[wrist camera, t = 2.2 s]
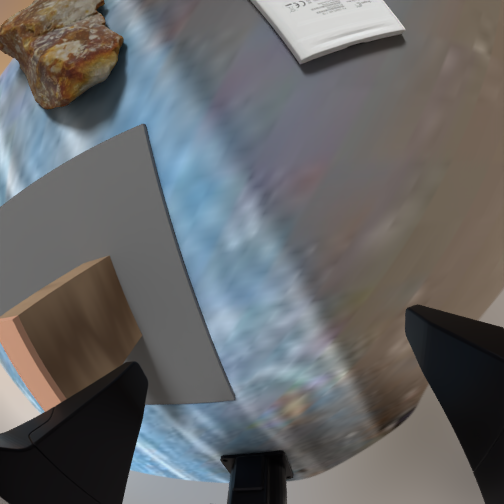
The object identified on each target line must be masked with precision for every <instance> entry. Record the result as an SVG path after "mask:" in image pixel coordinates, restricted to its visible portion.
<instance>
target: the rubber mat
mask: <svg viewBox="0 0 504 504" xmlns="http://www.w3.org/2000/svg"><path fill="white" fill-rule="evenodd" d="M109 255H110V258H111V261H112V264H113V266H114V269H115V272H116V274H117V277H118V280H119V282H120V285H121V287H122V290H123V292H124V295H125V297H126V300H127V302H128V304H129V307H130V309H131V311H132V314H133V316H134V318H135V320H136V323H137V325H138V327H139V329H140V331H141V333H142V337H141V338H140V339H139V341H138V342H137V344H136V345H135V347H134V348H133V350H132V351H131V352H130V354H129V355H128V357H127V358H126V360H125V361H124V363H125V362H130V361H136V362H138V363H139V365H140V366H141V368H142V370H143V372H144V373H145V375H146V377H147V379H148V391H147V396H146V402H145V404H190V403H207V402H219V401H229V400H235V395H234V393H233V391H232V388H231V386H230V384H229V381H228V379H227V377H226V374H225V372H224V369H223V367H222V365H221V362H220V360H219V357H218V355H217V352H216V350H215V347H214V345H213V342H212V340H211V337H210V334H209V332H208V329H207V327H206V324H205V321H204V319H203V316H202V313H201V310H200V308H199V305H198V302H197V299H196V297H195V294H194V291H193V288H192V285H191V282H190V279H189V277H188V274H187V271H186V268H185V265H184V262H183V258H182V255H181V252H180V249H179V246H178V243H177V240H176V236H175V233H174V230H173V227H172V223H171V220H170V217H169V213H168V210H167V206H166V203H165V199H164V196H163V192H162V188H161V185H160V181H159V177H158V174H157V170H156V166H155V162H154V158H153V154H152V150H151V146H150V141H149V137H148V133H147V128H146V125H145V124H141V125H139V126H136V127H134V128H132V129H130V130H127V131H125V132H123V133H121V134H119V135H116V136H114V137H112V138H110V139H108V140H106V141H104V142H102V143H100V144H98V145H96V146H94V147H92V148H91V149H89V150H87V151H85V152H83V153H81V154H79V155H78V156H76V157H74V158H72V159H71V160H69V161H67V162H65V163H64V164H62V165H60V166H59V167H57V168H55V169H54V170H52V171H51V172H49V173H47V174H46V175H44V176H43V177H41V178H40V179H38V180H37V181H35V182H34V183H32V184H31V185H29V186H28V187H27V188H25V189H24V190H22V191H21V192H20V193H18V194H17V195H15V196H14V197H13V198H11V199H10V200H9V201H7V202H6V203H5V204H4V205H2V206H1V207H0V316H2V315H3V314H4V313H6V312H7V311H9V310H10V309H12V308H13V307H15V306H16V305H18V304H19V303H21V302H22V301H24V300H25V299H27V298H28V297H30V296H31V295H33V294H34V293H36V292H37V291H39V290H40V289H42V288H44V287H45V286H47V285H48V284H50V283H52V282H53V281H55V280H56V279H58V278H60V277H61V276H63V275H65V274H66V273H68V272H70V271H71V270H73V269H75V268H76V267H78V266H80V265H82V264H83V263H86V262H89V261H93V260H96V259H99V258H103V257H106V256H109ZM124 363H123V364H124Z"/></svg>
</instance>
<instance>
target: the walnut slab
mask: <svg viewBox="0 0 504 504" xmlns="http://www.w3.org/2000/svg"><path fill="white" fill-rule="evenodd" d="M141 337H142V333H141V331H140V329H139V327H138V325H137V323H136V320H135V318H134V316H133V314H132V311H131V309H130V307H129V304H128V302H127V300H126V297H125V295H124V292H123V290H122V287H121V285H120V282H119V280H118V277H117V274H116V272H115V269H114V266H113V264H112V261H111V258H110V255H109V256H106V257H103V258H99V259H96V260H93V261H89V262H86V263H83V264H82V265H80V266H78V267H76V268H75V269H73V270H71V271H70V272H68V273H66V274H65V275H63V276H61V277H60V278H58V279H56V280H55V281H53V282H52V283H50V284H48V285H47V286H45V287H44V288H42V289H40V290H39V291H37V292H36V293H34V294H33V295H31V296H30V297H28V298H27V299H25V300H24V301H22V302H21V303H19V304H18V305H16V306H15V307H13V308H12V309H10V310H9V311H7V312H6V313H4V314H3V315H2V316H0V342H1V344H2V346H3V348H4V350H5V352H6V353H7V355H8V357H9V359H10V360H11V362H12V364H13V366H14V367H15V369H16V370H17V372H18V374H19V375H20V377H21V378H22V380H23V382H24V383H25V385H26V386H27V388H28V389H29V390H30V392H31V393H32V395H33V396H34V398H35V399H36V400H37V402H38V403H39V404H40V406H41V407H42V408H43V410H44V411H45V412H46V411H48V410H49V409H51V408H53V407H55V406H56V405H58V404H59V403H61V402H63V401H64V400H66V399H68V398H69V397H71V396H72V395H74V394H76V393H77V392H79V391H81V390H82V389H84V388H86V387H87V386H89V385H90V384H92V383H94V382H95V381H97V380H98V379H100V378H102V377H103V376H105V375H106V374H108V373H110V372H111V371H113V370H114V369H116V368H117V367H119V366H121V365H122V364H123V363H124V361H125V360H126V358H127V357H128V355H129V354H130V352H131V351H132V350H133V348H134V347H135V345H136V344H137V342H138V341H139V339H140V338H141Z"/></svg>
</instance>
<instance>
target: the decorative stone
mask: <svg viewBox="0 0 504 504" xmlns="http://www.w3.org/2000/svg"><path fill="white" fill-rule="evenodd" d="M104 4H105V3H104V0H35V1H34V2H33V3H32V4H31V5H30V6H29V7H27V8H26V9H24V10H21V11H19V12H18V13H16V14H15V15H13V16H12V17H10V18H9V19H7V20H6V21H5V22H4V23H3V24H2V25H1V27H0V50H1V51H2V52H4V53H5V54H8V55H9V56H11V57H13V58H15V59H16V60H17V61H18V62H19V64H20V68H21V69H22V71H23V72H24V73H25V75H26V77H27V80H28V83H29V86H30V88H31V91H32V94H33V96H34V98H35V101H36V102H37V103H39V104H40V105H41V106H42V107H43V108H44V109H47V110H48V109H53V108H56V107H62V106H66V105H68V104H69V103H71V102H72V101H73V100H75V99H76V97H78V96H80V95H81V94H82V93H84V92H85V91H86V90H87V89H89V88H90V87H92V86H94V85H96V84H98V83H101V82H103V81H105V80H106V78H107V77H108V76H109V74H110V72H111V70H112V69H113V67H114V66H115V65H116V63H117V61H118V54H119V49H120V48H121V46H122V44H123V37H122V36H120V35H118V34H117V33H115V32H113V31H111V30H110V29H108V28H107V27H105V18H104V17H103V16H102V14H101V13H99V12H97V9H98V8H99V7H100V6H103V5H104Z"/></svg>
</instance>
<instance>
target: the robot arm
mask: <svg viewBox="0 0 504 504" xmlns="http://www.w3.org/2000/svg"><path fill="white" fill-rule="evenodd" d="M405 333H406V337H407V339H408V341H409V343H410V345H411V347H412V350H413V352H414V354H415V356H416V359H417V361H418V363H419V366H420V368H421V370H422V372H423V374H424V376H425V378H426V379H427V381H428V383H429V384H430V386H431V388H432V390H433V392H434V393H435V395H436V397H437V399H438V401H439V402H440V404H441V406H442V408H443V410H444V412H445V414H446V416H447V418H448V419H449V421H450V423H451V425H452V427H453V429H454V431H455V433H456V435H457V438H458V440H459V441H460V444H461V446H462V448H463V450H464V452H465V455H466V457H467V459H468V461H469V464H470V466H471V468H472V470H473V471H474V472H473V473H474V476H475V478H476V480H477V483H478V486H479V488H480V491H481V493H482V496H483V499H484V502H485V504H504V329H503V327H500V326H496V325H492V324H488V323H485V322H481V321H477V320H473V319H470V318H466V317H462V316H459V315H455V314H451V313H447V312H444V311H440V310H436V309H433V308H429V307H425V306H422V305H414V306H411V307H408V308H407V309H406V313H405ZM147 391H148V379H147V377H146V375H145V373H144V372H143V370H142V368H141V366H140V365H139V363H138V362H136V361H130V362H125V363H124V364H122V365H121V366H119V367H117V368H116V369H114V370H113V371H111V372H110V373H108V374H106V375H105V376H103V377H102V378H100V379H98V380H97V381H95V382H94V383H92V384H90V385H89V386H87V387H86V388H84V389H82V390H81V391H79V392H77V393H76V394H74V395H72V396H71V397H69V398H68V399H66V400H64V401H63V402H61V403H59V404H58V405H56V406H55V407H53V408H51V409H49V410H48V411H46V412H44V413H42V414H41V415H39V416H37V417H36V418H33V419H31V420H29V421H27V422H25V423H23V424H22V425H20V426H17V427H16V428H13V429H11V430H9V431H7V432H4V433H1V434H0V504H122V502H123V497H124V493H125V487H126V483H127V479H128V475H129V471H130V466H131V462H132V458H133V454H134V450H135V446H136V442H137V439H138V435H139V431H140V427H141V424H142V419H143V414H144V408H145V402H146V396H147ZM220 460H221V462H222V463H223V465H224V466H225V467H226V469H227V470H228V471H229V473H230V482H229V491H228V499H227V504H287V490H286V479H291V478H293V473H292V470H291V468H290V465H289V462H288V460H287V457H286V455H285V452H283V451H274V452H265V453H255V454H242V455H223V456H221V459H220Z"/></svg>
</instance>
